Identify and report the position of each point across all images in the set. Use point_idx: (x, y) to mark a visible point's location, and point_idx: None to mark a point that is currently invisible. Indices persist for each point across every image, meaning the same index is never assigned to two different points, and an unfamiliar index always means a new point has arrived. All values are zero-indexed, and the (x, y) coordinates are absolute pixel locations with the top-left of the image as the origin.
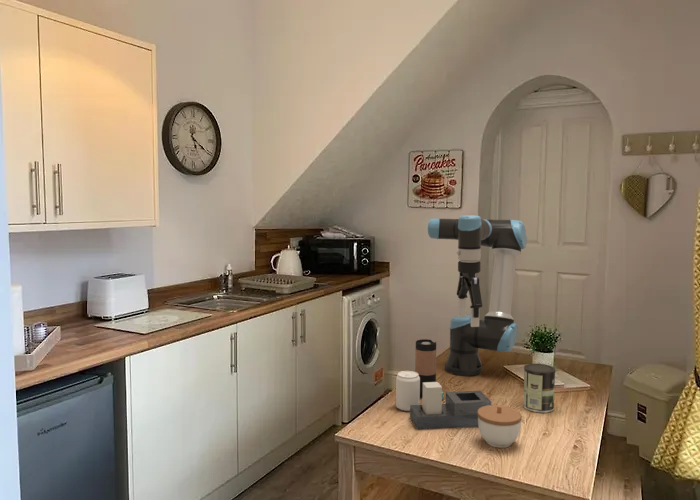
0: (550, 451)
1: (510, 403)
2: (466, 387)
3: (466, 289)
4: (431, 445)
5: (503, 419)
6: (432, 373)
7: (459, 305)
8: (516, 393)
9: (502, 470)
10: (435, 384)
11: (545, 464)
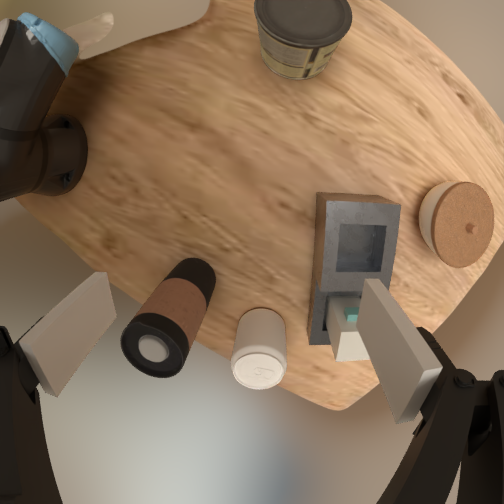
0: (471, 146)
1: (265, 98)
2: (151, 171)
3: (27, 461)
4: (414, 319)
5: (488, 233)
6: (201, 295)
7: (80, 363)
8: (202, 65)
9: (491, 245)
10: (356, 339)
11: (495, 179)
